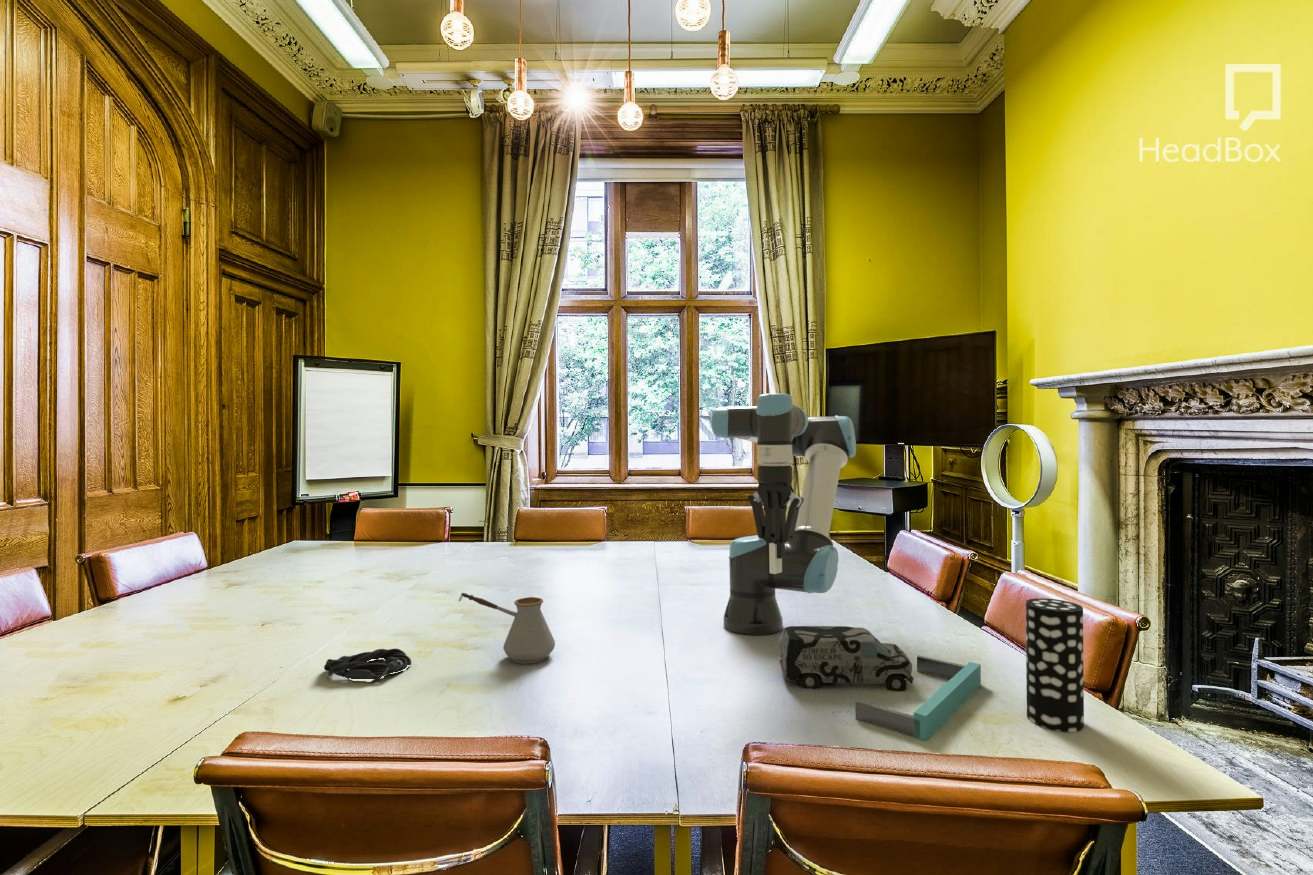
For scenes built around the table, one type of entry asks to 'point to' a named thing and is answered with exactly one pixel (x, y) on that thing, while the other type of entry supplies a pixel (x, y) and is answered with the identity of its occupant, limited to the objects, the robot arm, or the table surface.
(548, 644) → the coffee pot
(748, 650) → the table surface
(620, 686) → the table surface
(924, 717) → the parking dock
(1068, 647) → the white-spotted black cylinder
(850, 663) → the toy car
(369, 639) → the table surface
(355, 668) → the cable
